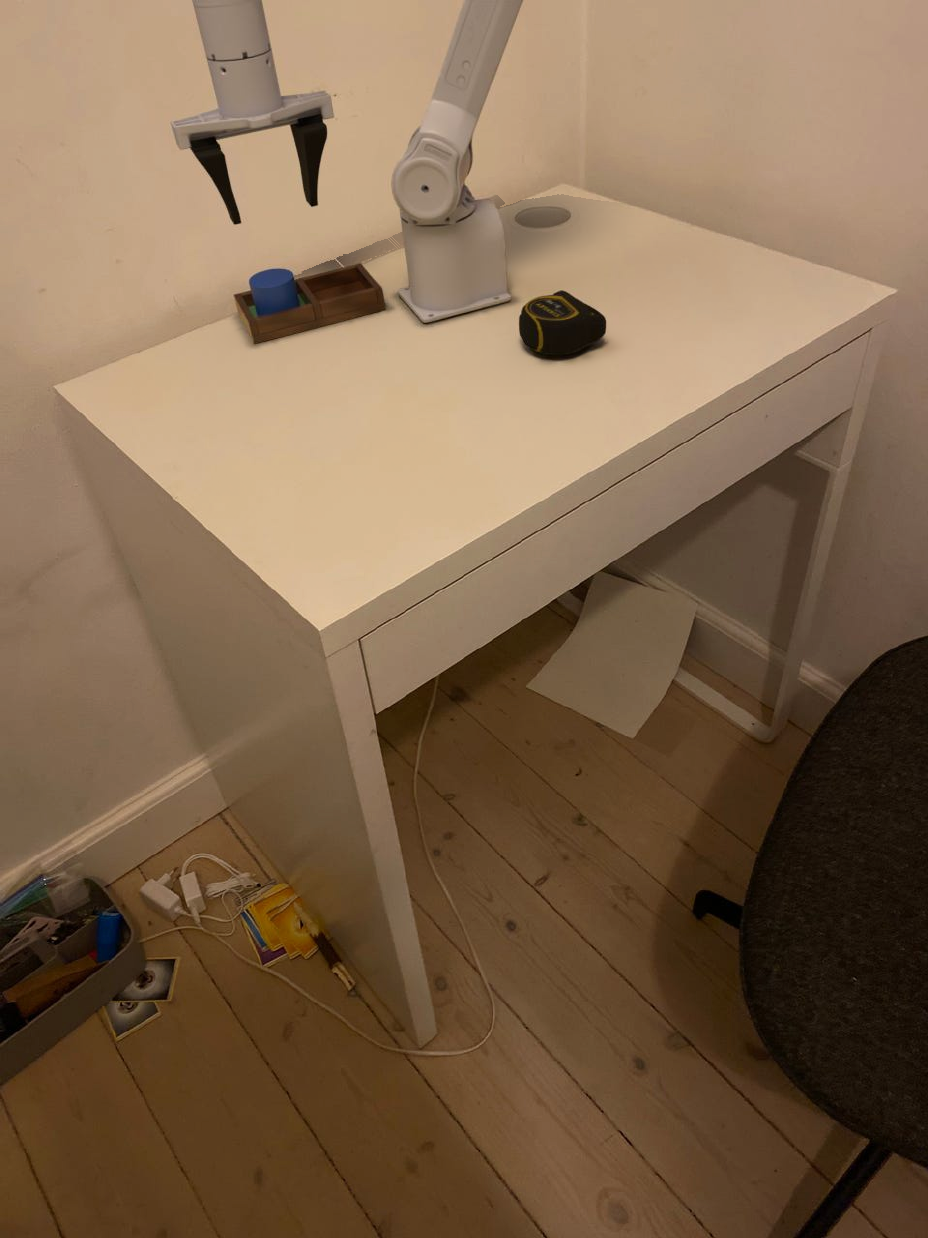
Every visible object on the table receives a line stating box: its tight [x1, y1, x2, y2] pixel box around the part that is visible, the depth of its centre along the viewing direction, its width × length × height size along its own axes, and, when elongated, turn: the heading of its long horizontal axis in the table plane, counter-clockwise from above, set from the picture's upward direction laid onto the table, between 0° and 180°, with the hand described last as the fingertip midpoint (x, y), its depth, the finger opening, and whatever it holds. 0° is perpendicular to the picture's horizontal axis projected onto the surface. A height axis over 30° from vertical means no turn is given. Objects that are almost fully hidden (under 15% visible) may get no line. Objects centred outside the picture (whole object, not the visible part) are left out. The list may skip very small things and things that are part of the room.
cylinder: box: [248, 267, 300, 317], centre depth 92 cm, size 4×4×4 cm
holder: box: [233, 262, 386, 345], centre depth 94 cm, size 14×7×2 cm, turn 112°
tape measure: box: [518, 290, 607, 356], centre depth 84 cm, size 7×7×4 cm
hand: (274, 211), depth 90 cm, fingers open, 7 cm apart
